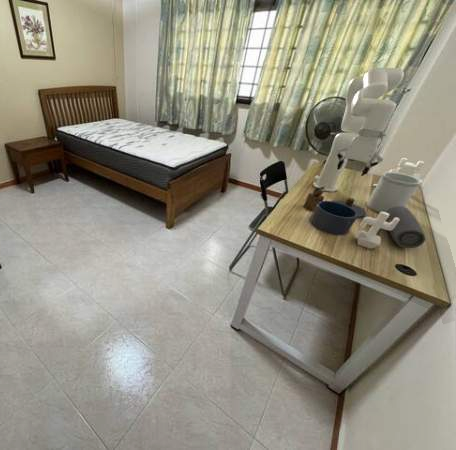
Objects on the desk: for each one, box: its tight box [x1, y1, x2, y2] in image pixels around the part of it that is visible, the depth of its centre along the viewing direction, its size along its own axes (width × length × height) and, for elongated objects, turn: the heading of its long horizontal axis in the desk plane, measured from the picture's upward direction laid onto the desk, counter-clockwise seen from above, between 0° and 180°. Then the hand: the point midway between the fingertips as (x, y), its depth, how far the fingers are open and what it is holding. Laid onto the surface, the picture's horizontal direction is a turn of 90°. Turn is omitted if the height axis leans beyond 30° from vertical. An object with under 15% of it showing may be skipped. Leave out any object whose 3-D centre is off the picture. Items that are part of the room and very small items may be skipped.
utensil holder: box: [366, 171, 423, 213], centre depth 120 cm, size 15×15×18 cm
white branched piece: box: [372, 157, 425, 187], centre depth 138 cm, size 19×14×20 cm
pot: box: [309, 200, 358, 236], centre depth 108 cm, size 15×15×8 cm
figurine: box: [357, 212, 400, 250], centre depth 95 cm, size 7×9×15 cm
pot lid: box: [332, 197, 367, 218], centre depth 121 cm, size 16×16×6 cm
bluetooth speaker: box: [385, 206, 426, 249], centre depth 102 cm, size 23×9×10 cm, turn 150°
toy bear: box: [303, 187, 325, 212], centre depth 120 cm, size 5×5×12 cm
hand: (350, 172), depth 112 cm, fingers open, 9 cm apart
